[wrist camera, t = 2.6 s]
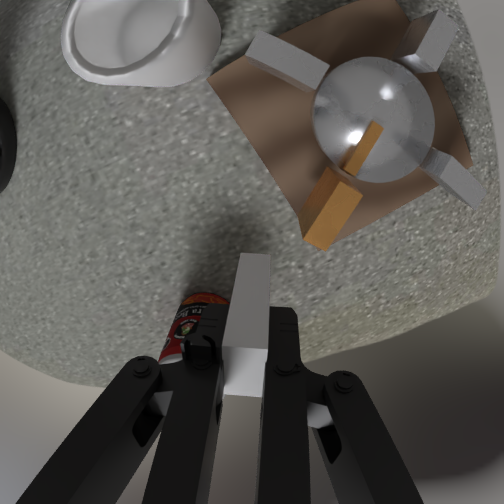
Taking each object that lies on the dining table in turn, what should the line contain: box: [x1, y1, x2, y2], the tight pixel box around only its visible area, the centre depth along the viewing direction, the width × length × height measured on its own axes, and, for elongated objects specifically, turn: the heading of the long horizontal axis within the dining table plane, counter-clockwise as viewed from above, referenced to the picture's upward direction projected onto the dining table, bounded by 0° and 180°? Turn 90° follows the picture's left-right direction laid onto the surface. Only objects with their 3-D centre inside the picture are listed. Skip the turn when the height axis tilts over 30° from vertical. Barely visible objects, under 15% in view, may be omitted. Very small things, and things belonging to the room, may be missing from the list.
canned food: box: [158, 293, 230, 399], centre depth 33 cm, size 8×8×11 cm
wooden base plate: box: [206, 0, 473, 251], centre depth 24 cm, size 20×20×4 cm
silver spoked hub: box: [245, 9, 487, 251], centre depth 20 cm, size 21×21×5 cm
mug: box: [60, 0, 222, 87], centre depth 18 cm, size 14×10×11 cm
